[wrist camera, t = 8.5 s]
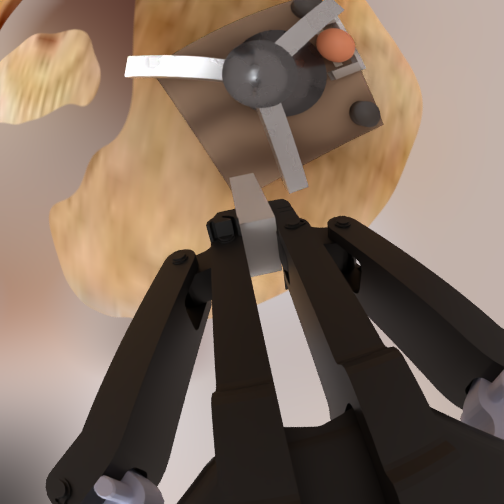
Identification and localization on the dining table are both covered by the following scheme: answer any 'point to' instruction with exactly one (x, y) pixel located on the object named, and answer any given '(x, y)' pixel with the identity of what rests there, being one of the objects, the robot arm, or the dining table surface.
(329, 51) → the ball
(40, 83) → the dining table surface
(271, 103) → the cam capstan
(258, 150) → the walnut stand
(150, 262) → the dining table surface
